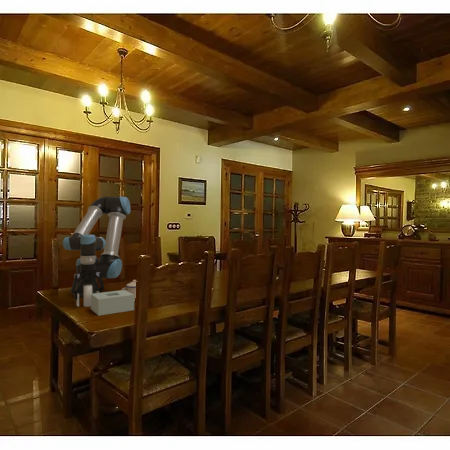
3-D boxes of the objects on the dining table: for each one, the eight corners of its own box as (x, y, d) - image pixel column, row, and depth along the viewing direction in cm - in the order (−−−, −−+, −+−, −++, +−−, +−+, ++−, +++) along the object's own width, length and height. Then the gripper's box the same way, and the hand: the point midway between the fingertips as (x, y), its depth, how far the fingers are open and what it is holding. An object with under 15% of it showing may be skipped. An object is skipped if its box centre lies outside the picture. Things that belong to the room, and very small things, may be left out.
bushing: (82, 305, 184) (82, 285, 184) (91, 304, 187) (91, 284, 187) (84, 307, 181) (84, 286, 180) (93, 306, 183) (93, 285, 183)
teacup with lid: (143, 298, 202) (143, 278, 202) (140, 302, 193) (140, 281, 193) (122, 298, 201) (123, 278, 201) (119, 302, 192) (119, 281, 192)
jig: (90, 309, 177) (90, 293, 177) (124, 304, 187) (124, 289, 187) (98, 315, 166) (98, 299, 165) (134, 310, 176) (134, 294, 176)
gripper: (66, 265, 174) (67, 309, 174) (111, 262, 187) (110, 303, 187) (64, 264, 180) (64, 305, 180) (106, 261, 193) (106, 300, 193)
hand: (87, 304), depth 184 cm, fingers open, 10 cm apart
